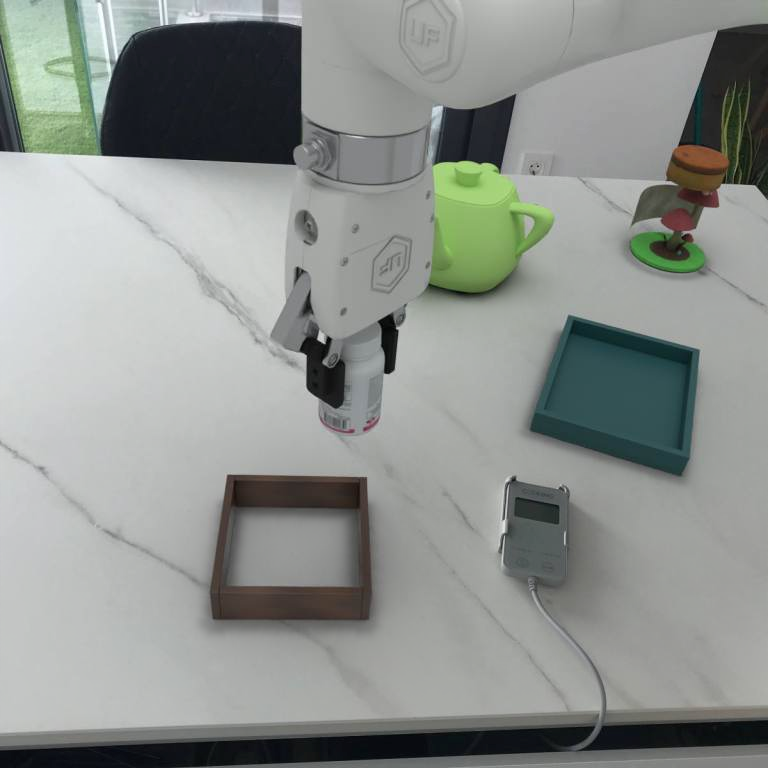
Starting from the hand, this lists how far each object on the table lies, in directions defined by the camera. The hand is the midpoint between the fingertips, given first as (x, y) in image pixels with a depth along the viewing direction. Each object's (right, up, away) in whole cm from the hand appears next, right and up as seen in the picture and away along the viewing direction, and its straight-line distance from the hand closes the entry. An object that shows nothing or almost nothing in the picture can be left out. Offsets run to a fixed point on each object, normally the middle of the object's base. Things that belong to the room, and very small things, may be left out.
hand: (351, 379), depth 57 cm
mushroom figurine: (+44, +19, +56) cm, 74 cm away
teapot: (+11, +15, +48) cm, 51 cm away
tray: (+28, -2, +30) cm, 41 cm away
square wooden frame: (-5, -15, +9) cm, 19 cm away
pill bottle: (0, -3, +3) cm, 4 cm away
